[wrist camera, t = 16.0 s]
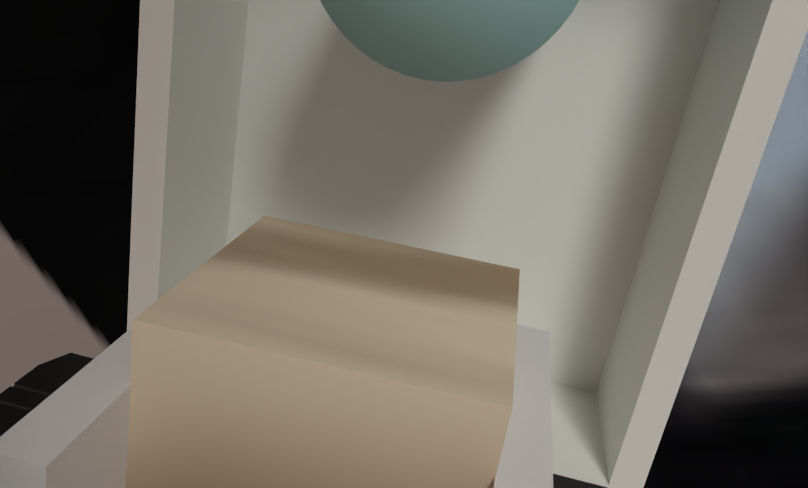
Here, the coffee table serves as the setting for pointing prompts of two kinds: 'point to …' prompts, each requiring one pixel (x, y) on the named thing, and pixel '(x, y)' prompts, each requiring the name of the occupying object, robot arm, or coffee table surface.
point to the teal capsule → (448, 33)
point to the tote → (483, 174)
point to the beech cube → (324, 367)
